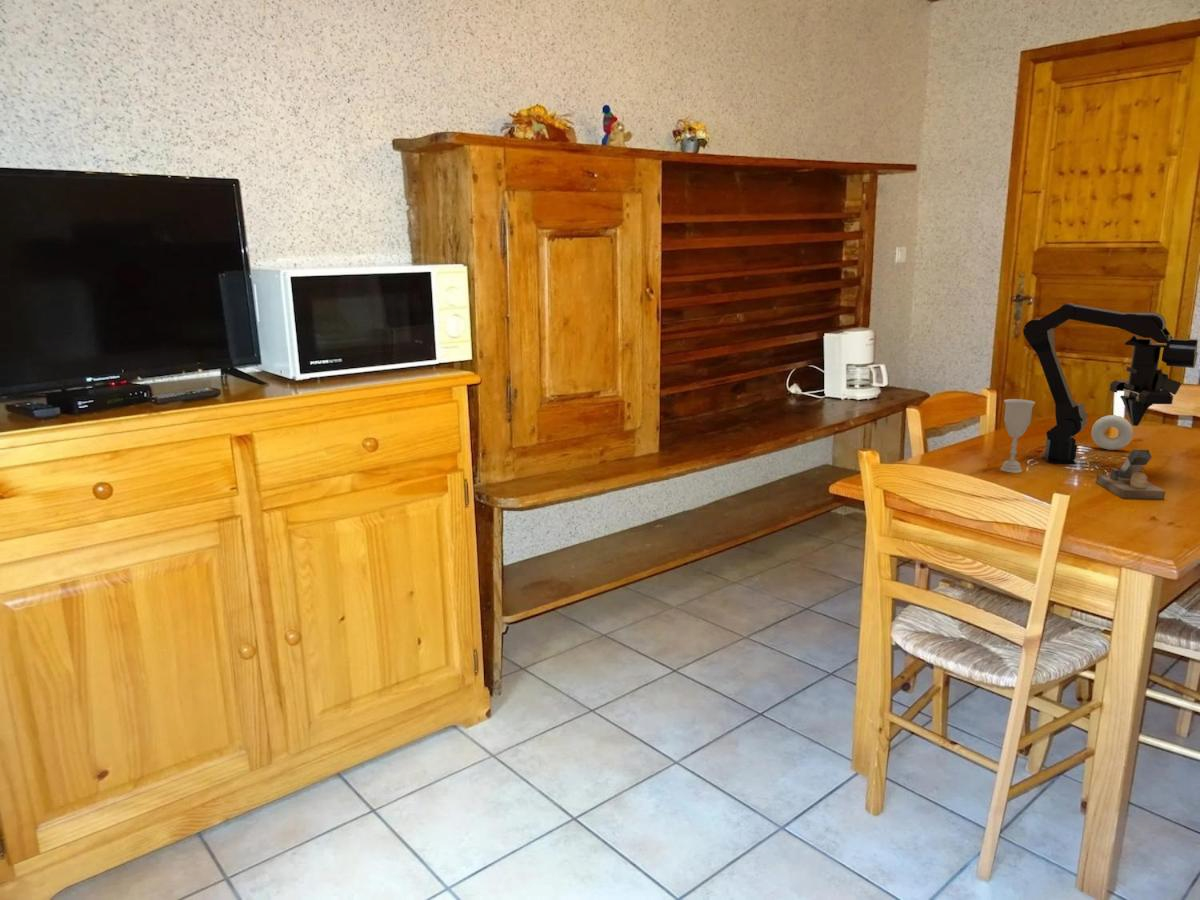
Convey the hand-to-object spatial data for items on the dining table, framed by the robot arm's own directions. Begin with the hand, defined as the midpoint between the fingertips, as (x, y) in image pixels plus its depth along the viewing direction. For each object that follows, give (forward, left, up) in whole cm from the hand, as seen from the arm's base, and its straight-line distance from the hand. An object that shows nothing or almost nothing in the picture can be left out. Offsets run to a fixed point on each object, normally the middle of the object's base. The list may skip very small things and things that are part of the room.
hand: (1135, 425), depth 211 cm
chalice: (-29, -4, -12) cm, 32 cm away
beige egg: (-7, -22, -10) cm, 25 cm away
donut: (+4, +23, -12) cm, 26 cm away
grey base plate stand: (-7, -18, -12) cm, 23 cm away
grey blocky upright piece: (-7, -16, -9) cm, 20 cm away
